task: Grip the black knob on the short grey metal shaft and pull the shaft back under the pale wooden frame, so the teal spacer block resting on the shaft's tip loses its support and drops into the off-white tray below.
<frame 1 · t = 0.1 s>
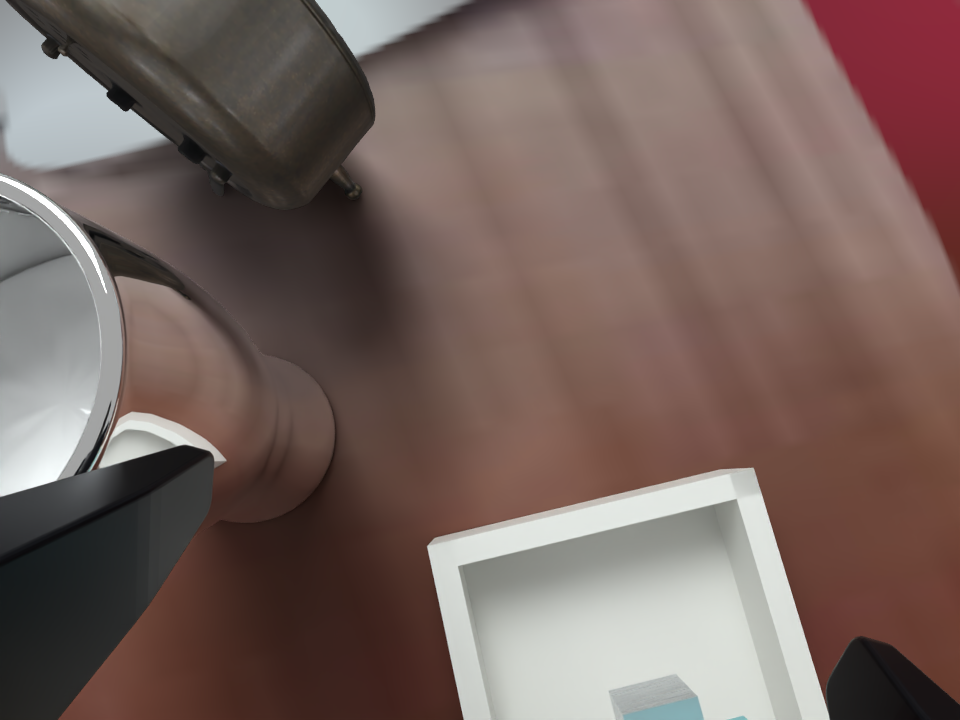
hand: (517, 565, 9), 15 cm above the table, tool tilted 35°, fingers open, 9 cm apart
alarm clock: (259, 158, 26), on the table
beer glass: (255, 437, 24), on the table
tray: (630, 708, 22), on the table
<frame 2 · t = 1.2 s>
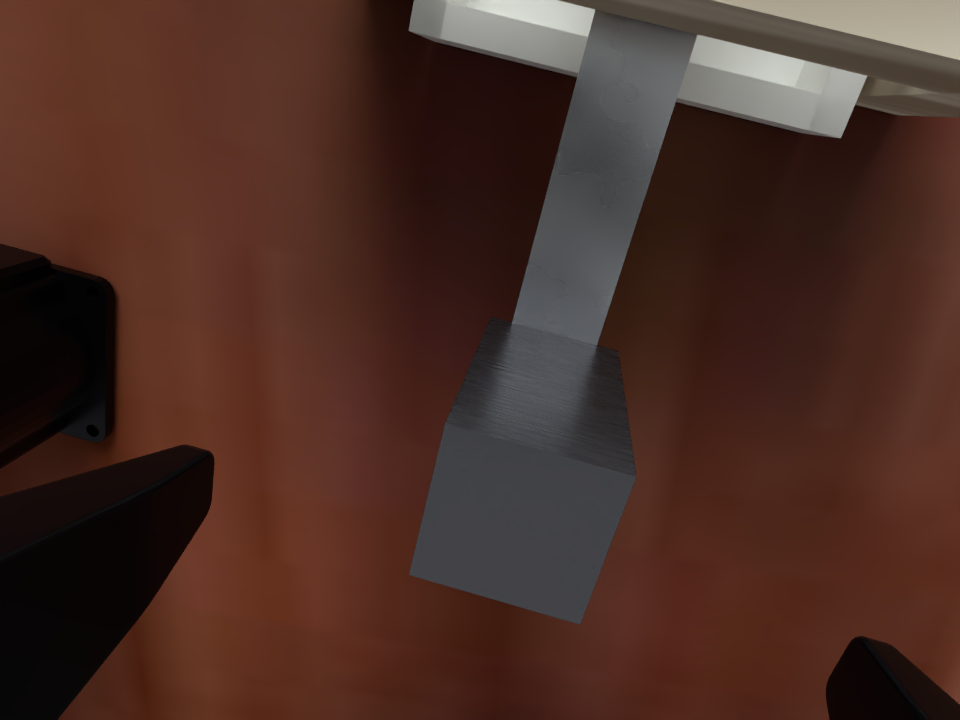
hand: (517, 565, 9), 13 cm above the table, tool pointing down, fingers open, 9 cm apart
shaft: (640, 60, 11), point 8 cm above the table, slide at 0.0 cm, touching spacer
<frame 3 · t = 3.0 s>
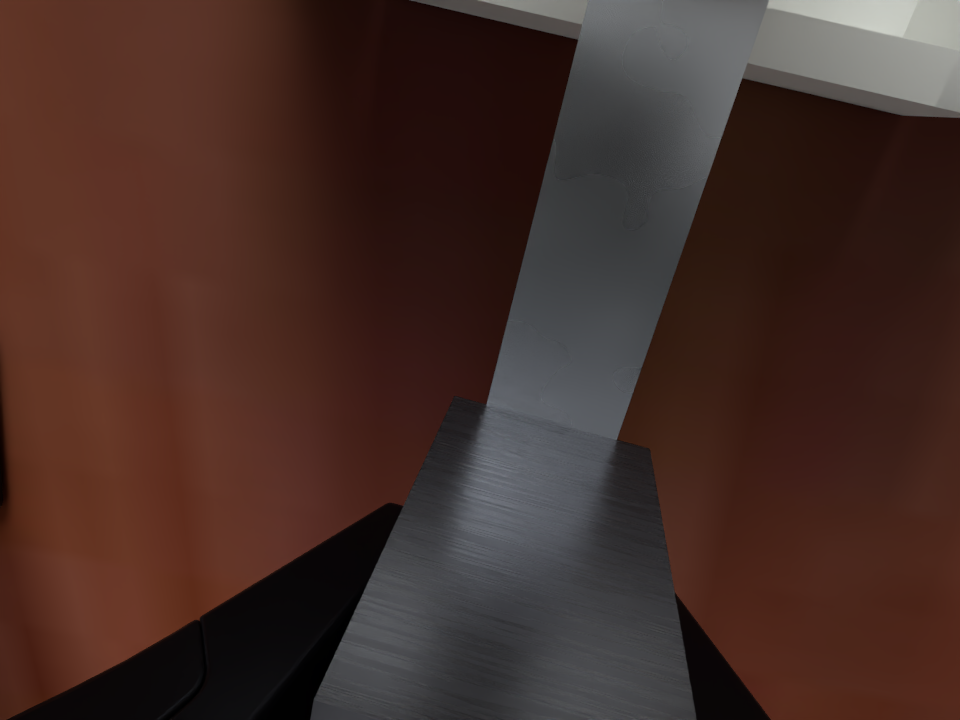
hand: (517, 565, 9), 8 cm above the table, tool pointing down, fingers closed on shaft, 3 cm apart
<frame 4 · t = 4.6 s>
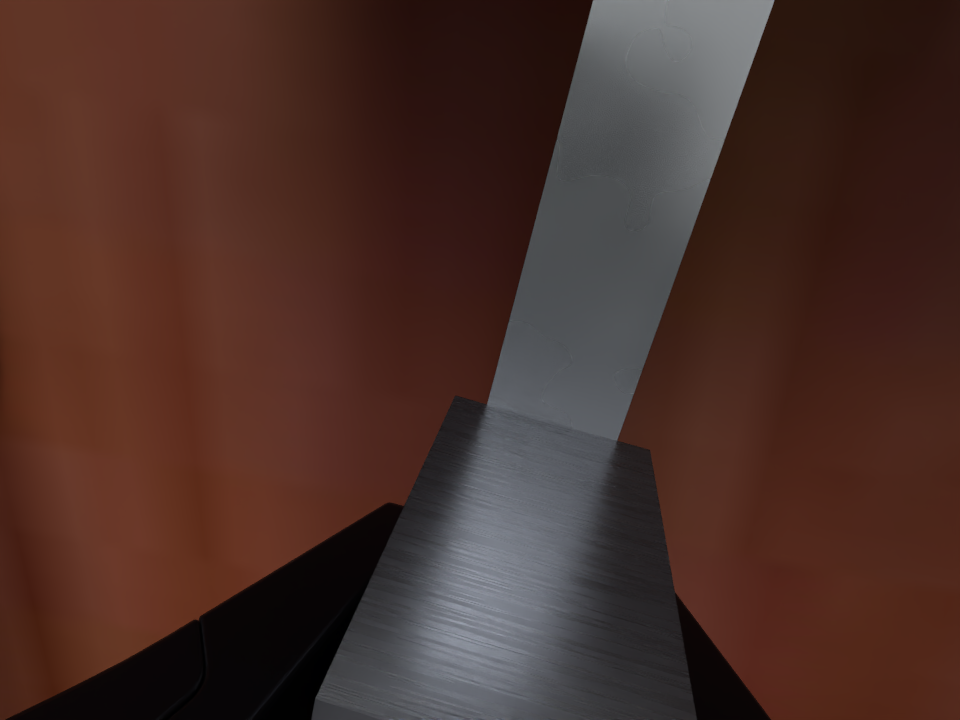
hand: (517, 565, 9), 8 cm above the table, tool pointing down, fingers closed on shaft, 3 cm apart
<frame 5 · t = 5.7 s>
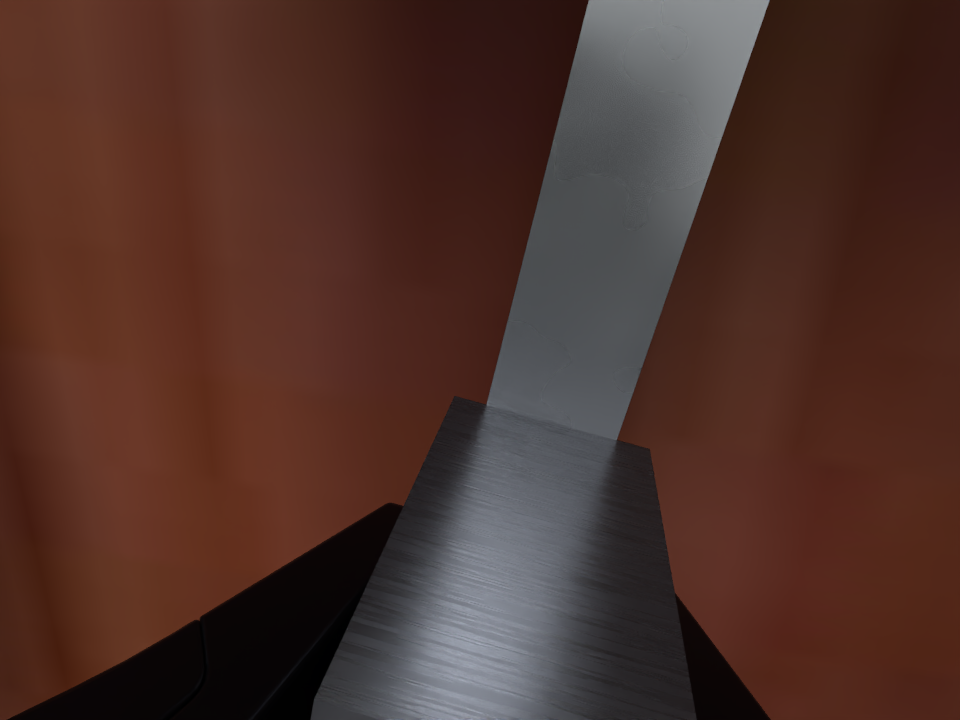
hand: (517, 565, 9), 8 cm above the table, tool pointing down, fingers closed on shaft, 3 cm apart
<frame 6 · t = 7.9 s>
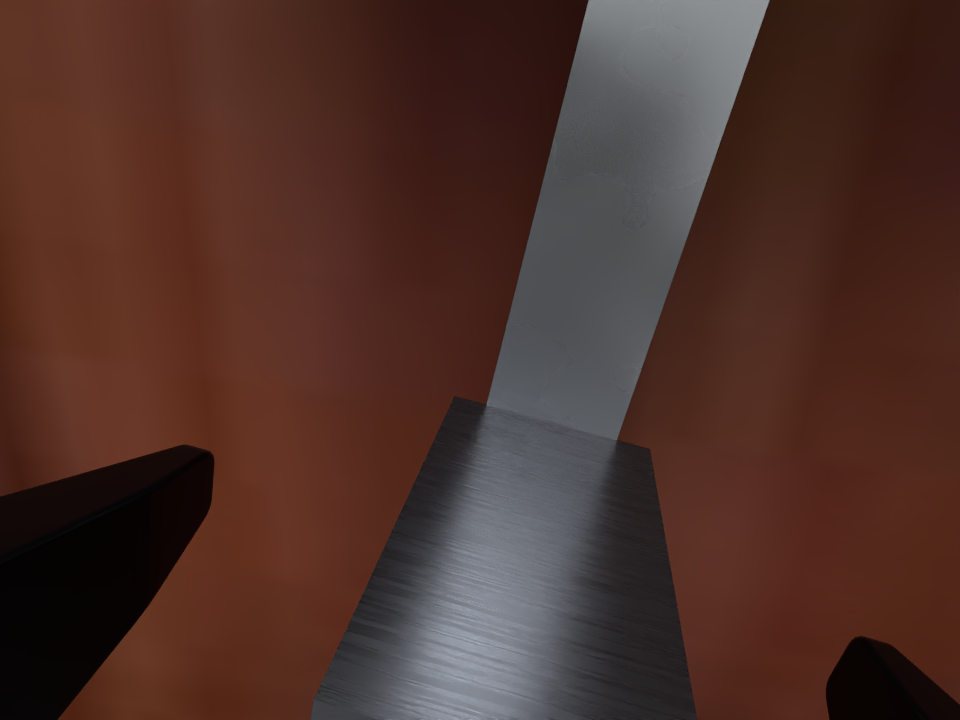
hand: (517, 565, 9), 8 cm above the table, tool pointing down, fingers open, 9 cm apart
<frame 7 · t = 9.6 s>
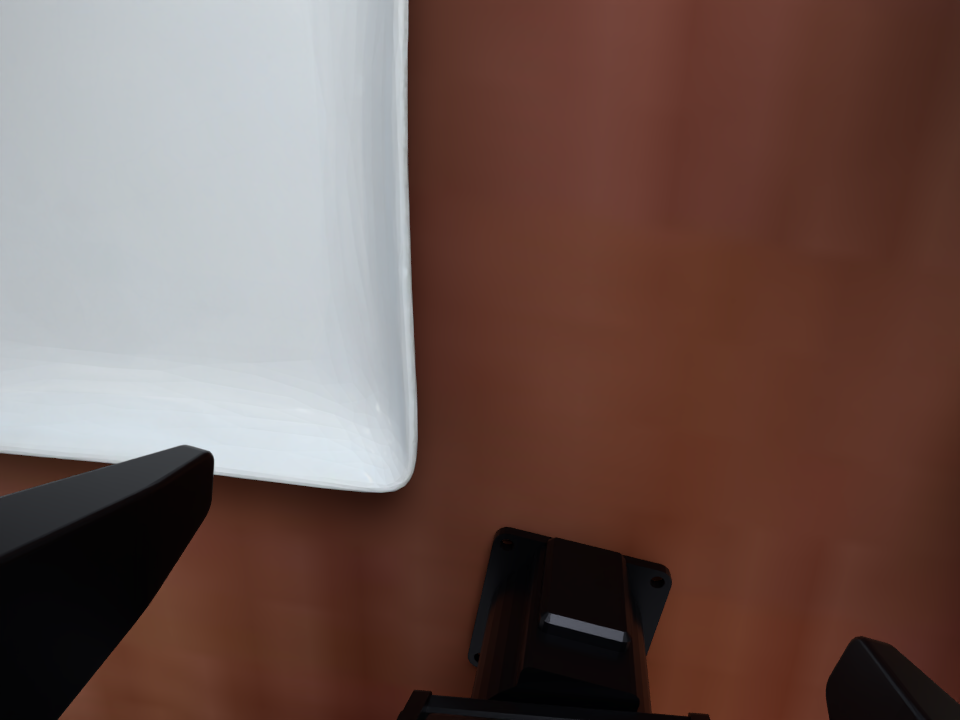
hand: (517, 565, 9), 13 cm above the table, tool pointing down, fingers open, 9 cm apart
salad plate: (130, 142, 22), on the table
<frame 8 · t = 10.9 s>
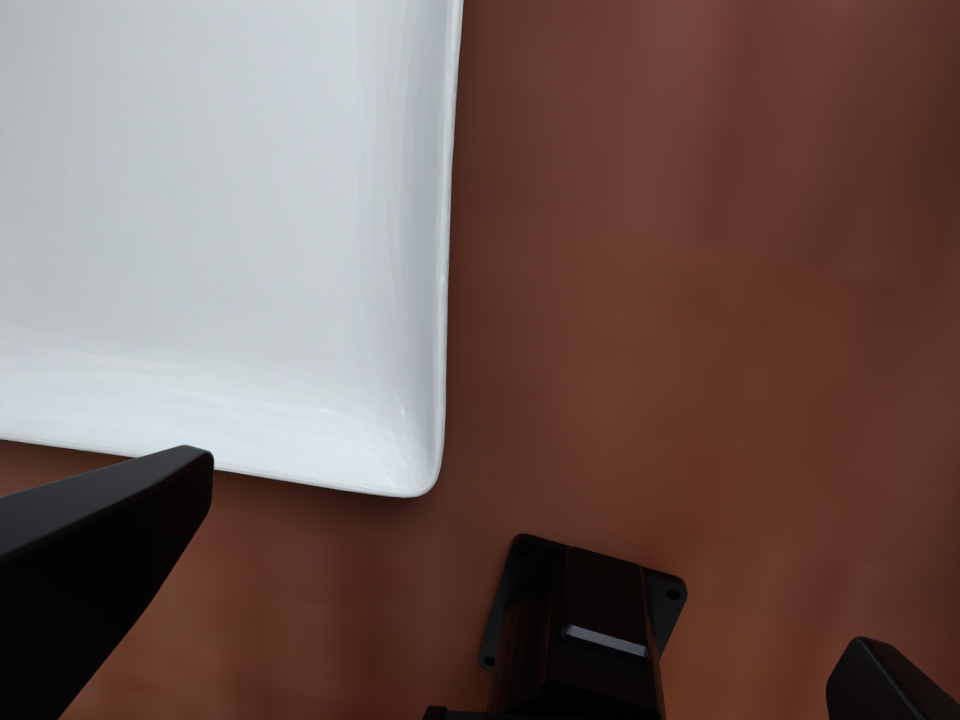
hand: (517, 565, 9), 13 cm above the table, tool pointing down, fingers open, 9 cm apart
salad plate: (159, 130, 22), on the table
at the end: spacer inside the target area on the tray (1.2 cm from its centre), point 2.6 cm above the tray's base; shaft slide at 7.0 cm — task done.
